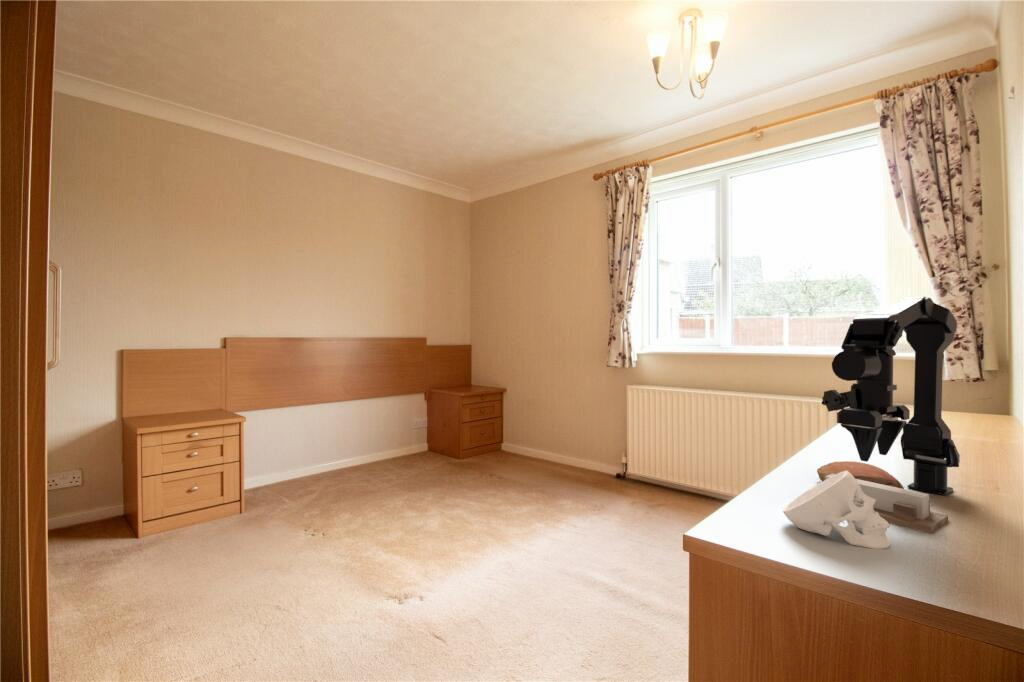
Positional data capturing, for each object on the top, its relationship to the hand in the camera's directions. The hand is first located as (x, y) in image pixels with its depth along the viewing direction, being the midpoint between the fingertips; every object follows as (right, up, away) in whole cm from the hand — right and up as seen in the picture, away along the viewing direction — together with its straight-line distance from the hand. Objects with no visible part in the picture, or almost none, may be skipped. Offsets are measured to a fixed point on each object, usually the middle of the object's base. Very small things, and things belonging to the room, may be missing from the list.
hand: (873, 457), depth 94 cm
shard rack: (0, -10, 0) cm, 10 cm away
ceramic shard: (+9, -11, +19) cm, 23 cm away
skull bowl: (-16, -11, -11) cm, 22 cm away
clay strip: (0, -9, 0) cm, 9 cm away
